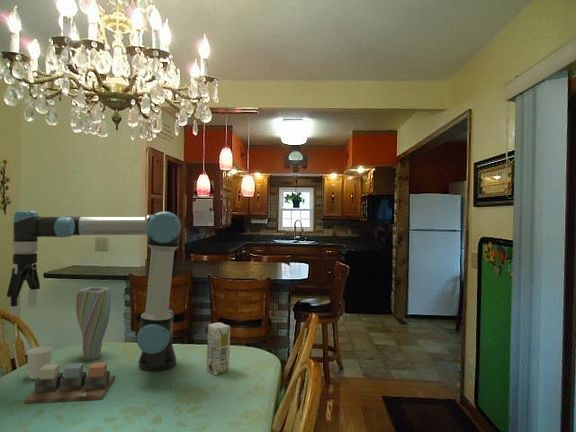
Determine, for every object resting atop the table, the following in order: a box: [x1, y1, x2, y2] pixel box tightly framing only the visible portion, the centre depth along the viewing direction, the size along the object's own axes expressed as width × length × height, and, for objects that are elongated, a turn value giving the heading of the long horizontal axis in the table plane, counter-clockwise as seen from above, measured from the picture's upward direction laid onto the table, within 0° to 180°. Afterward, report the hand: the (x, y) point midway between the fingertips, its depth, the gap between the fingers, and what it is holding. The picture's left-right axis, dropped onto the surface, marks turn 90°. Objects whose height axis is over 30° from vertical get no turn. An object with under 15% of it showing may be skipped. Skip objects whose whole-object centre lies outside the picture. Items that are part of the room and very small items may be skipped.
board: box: [24, 370, 116, 404], centre depth 144 cm, size 24×18×5 cm
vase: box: [75, 286, 112, 361], centre depth 177 cm, size 14×14×30 cm
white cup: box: [27, 346, 52, 380], centre depth 155 cm, size 8×8×10 cm
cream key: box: [39, 363, 60, 380], centre depth 142 cm, size 5×5×5 cm
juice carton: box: [206, 322, 231, 376], centre depth 165 cm, size 8×9×19 cm
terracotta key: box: [88, 361, 108, 378], centre depth 145 cm, size 5×5×5 cm
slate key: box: [63, 362, 84, 379], centre depth 144 cm, size 5×5×5 cm
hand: (23, 310), depth 148 cm, fingers open, 13 cm apart
